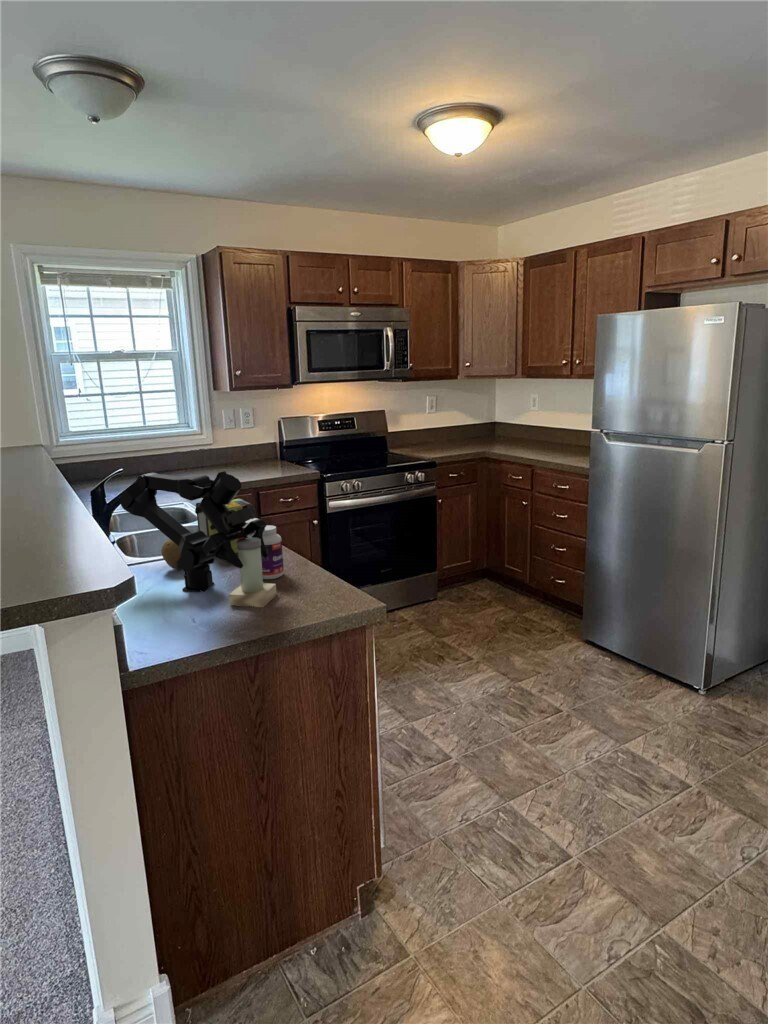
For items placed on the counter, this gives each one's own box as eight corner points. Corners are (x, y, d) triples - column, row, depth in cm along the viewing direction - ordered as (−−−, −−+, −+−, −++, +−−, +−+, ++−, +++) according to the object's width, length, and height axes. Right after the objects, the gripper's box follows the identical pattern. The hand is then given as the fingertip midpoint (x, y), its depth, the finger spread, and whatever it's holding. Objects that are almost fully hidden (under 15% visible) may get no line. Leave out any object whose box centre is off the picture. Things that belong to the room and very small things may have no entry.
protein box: (256, 549, 207) (252, 503, 203) (211, 558, 199) (206, 511, 195) (243, 542, 215) (239, 498, 212) (199, 550, 207) (194, 505, 203)
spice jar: (238, 593, 160) (233, 544, 157) (244, 585, 166) (239, 537, 162) (261, 592, 160) (257, 543, 156) (266, 584, 165) (262, 537, 162)
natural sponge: (171, 563, 194) (168, 532, 192) (199, 564, 193) (196, 532, 191) (158, 573, 186) (154, 541, 183) (187, 574, 185) (184, 541, 182)
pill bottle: (278, 581, 176) (274, 532, 173) (251, 580, 178) (247, 531, 174) (288, 571, 184) (284, 524, 181) (262, 570, 186) (258, 523, 182)
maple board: (230, 605, 160) (229, 594, 159) (245, 592, 169) (244, 582, 168) (262, 607, 158) (262, 596, 157) (276, 594, 167) (275, 583, 166)
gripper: (206, 503, 151) (244, 553, 148) (258, 489, 166) (293, 534, 164) (186, 531, 157) (222, 580, 154) (238, 514, 172) (272, 558, 169)
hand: (254, 561), depth 160 cm, fingers open, 9 cm apart
